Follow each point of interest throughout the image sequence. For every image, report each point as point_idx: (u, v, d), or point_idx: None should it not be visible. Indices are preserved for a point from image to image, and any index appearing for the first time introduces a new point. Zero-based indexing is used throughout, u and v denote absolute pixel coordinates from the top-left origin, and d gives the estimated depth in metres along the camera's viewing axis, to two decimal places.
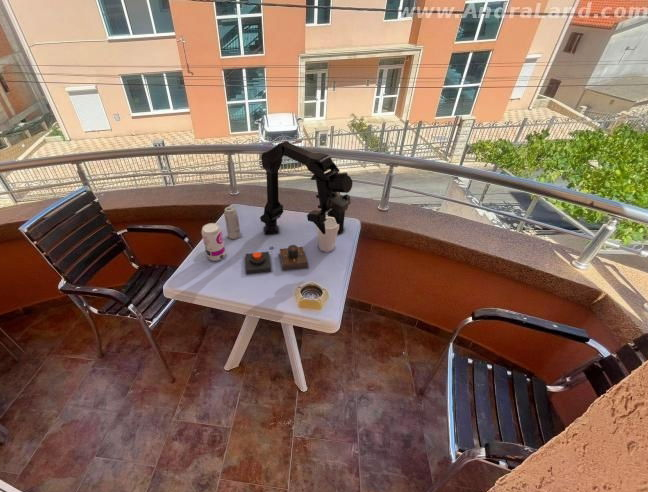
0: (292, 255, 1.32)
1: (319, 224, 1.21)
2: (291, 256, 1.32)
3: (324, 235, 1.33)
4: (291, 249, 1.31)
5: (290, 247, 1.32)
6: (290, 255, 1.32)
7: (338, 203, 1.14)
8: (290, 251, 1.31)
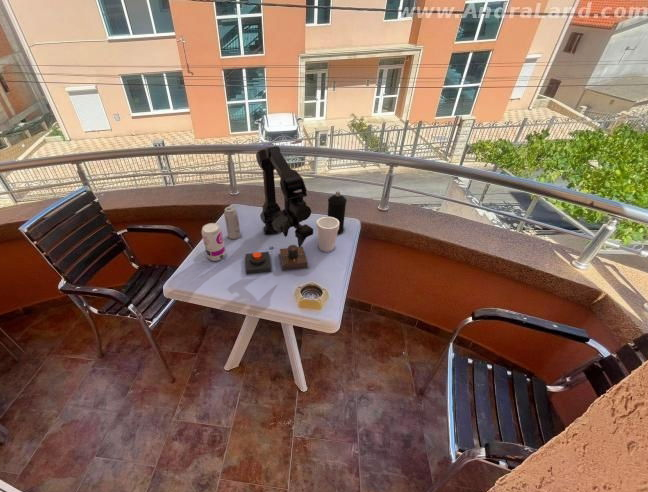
0: (292, 255, 1.32)
1: None
2: (291, 256, 1.32)
3: (324, 235, 1.33)
4: (291, 249, 1.31)
5: (290, 247, 1.32)
6: (290, 255, 1.32)
7: (275, 220, 1.20)
8: (290, 251, 1.31)
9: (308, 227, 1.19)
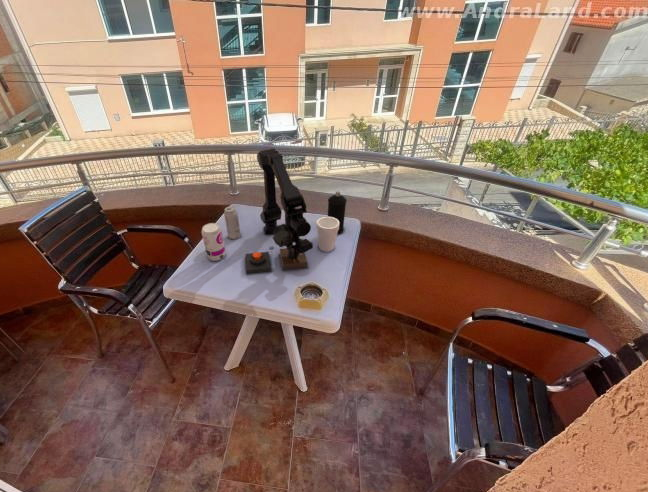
0: (292, 255, 1.32)
1: None
2: (291, 256, 1.32)
3: (324, 235, 1.33)
4: (291, 249, 1.31)
5: (290, 247, 1.32)
6: (290, 255, 1.32)
7: (276, 234, 1.25)
8: (290, 251, 1.31)
9: (308, 242, 1.23)
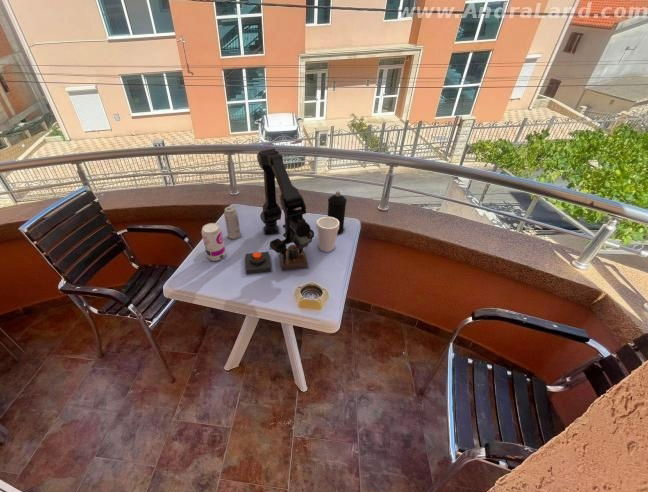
0: (297, 252, 1.33)
1: None
2: (297, 254, 1.33)
3: (324, 235, 1.33)
4: (295, 248, 1.31)
5: (292, 249, 1.31)
6: (297, 254, 1.33)
7: (299, 240, 1.21)
8: (297, 250, 1.31)
9: None
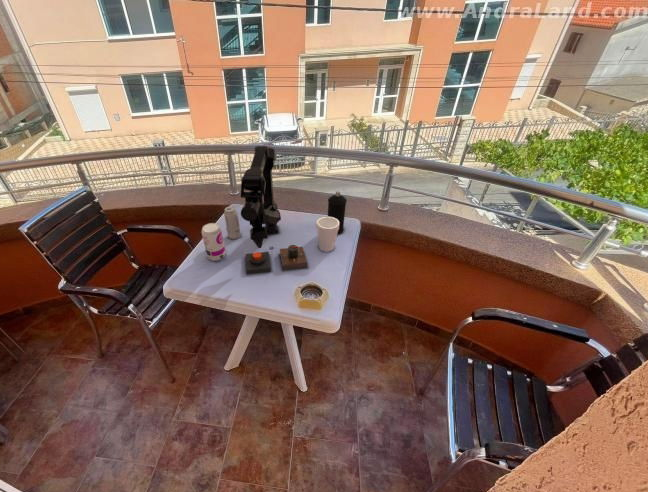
0: (297, 252, 1.33)
1: (258, 240, 1.20)
2: (297, 254, 1.33)
3: (324, 235, 1.33)
4: (295, 248, 1.31)
5: (292, 249, 1.31)
6: (297, 254, 1.33)
7: (274, 215, 1.19)
8: (297, 250, 1.31)
9: None
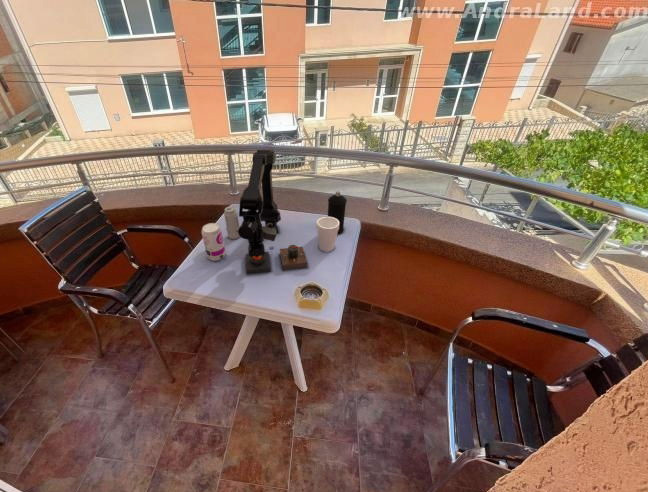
0: (297, 252, 1.33)
1: None
2: (297, 254, 1.33)
3: (324, 235, 1.33)
4: (295, 248, 1.31)
5: (292, 249, 1.31)
6: (297, 254, 1.33)
7: (271, 233, 1.24)
8: (297, 250, 1.31)
9: None
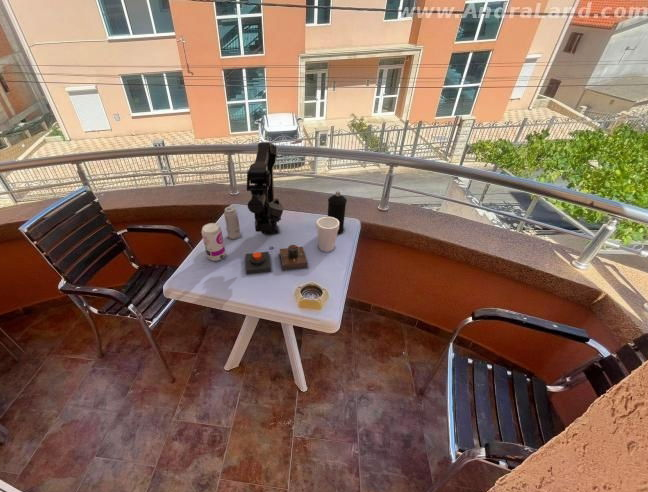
0: (297, 252, 1.33)
1: None
2: (297, 254, 1.33)
3: (324, 235, 1.33)
4: (295, 248, 1.31)
5: (292, 249, 1.31)
6: (297, 254, 1.33)
7: (278, 208, 1.23)
8: (297, 250, 1.31)
9: None
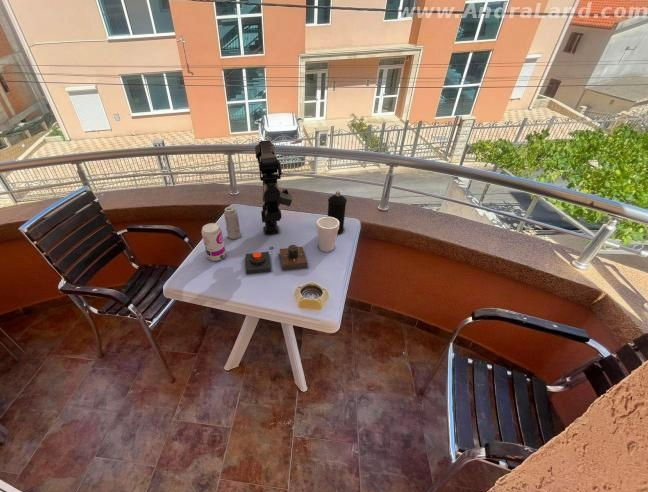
0: (297, 252, 1.33)
1: None
2: (297, 254, 1.33)
3: (324, 235, 1.33)
4: (295, 248, 1.31)
5: (292, 249, 1.31)
6: (297, 254, 1.33)
7: (287, 198, 1.27)
8: (297, 250, 1.31)
9: None
